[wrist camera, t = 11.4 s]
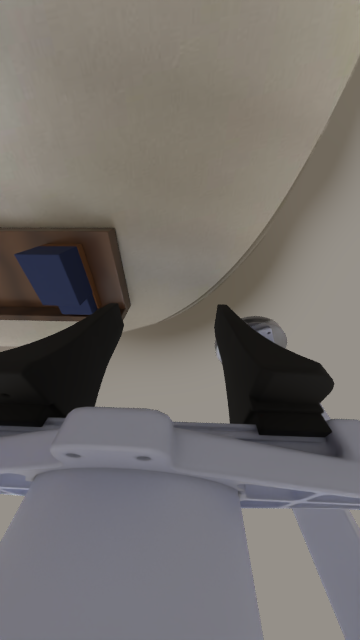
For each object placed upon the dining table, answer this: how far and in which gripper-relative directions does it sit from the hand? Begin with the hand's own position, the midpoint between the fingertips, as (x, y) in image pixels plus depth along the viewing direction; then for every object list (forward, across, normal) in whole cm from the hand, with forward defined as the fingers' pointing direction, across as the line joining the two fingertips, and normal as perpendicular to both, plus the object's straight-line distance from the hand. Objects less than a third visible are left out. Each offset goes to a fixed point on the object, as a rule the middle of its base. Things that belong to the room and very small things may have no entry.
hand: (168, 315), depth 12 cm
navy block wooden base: (+8, +12, +1) cm, 14 cm away
